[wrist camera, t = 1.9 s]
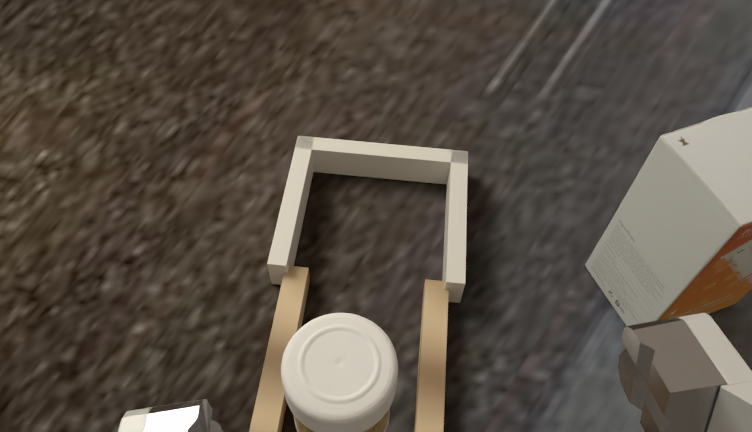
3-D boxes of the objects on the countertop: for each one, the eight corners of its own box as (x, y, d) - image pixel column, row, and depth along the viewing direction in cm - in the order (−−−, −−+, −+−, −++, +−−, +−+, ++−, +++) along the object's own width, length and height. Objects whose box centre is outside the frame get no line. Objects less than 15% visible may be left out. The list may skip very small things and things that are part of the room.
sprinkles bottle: (386, 501, 33) (401, 421, 22) (301, 503, 33) (274, 423, 22) (384, 416, 36) (396, 308, 25) (305, 417, 36) (283, 308, 25)
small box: (637, 346, 39) (741, 227, 28) (582, 265, 42) (656, 132, 32) (739, 305, 41) (872, 180, 30) (679, 230, 44) (779, 95, 34)
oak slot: (436, 528, 33) (439, 522, 31) (239, 505, 33) (234, 499, 32) (446, 293, 41) (449, 281, 39) (287, 278, 41) (285, 265, 40)
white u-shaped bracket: (460, 302, 40) (465, 283, 38) (271, 283, 41) (267, 263, 39) (463, 173, 47) (468, 151, 45) (300, 158, 47) (297, 135, 45)
